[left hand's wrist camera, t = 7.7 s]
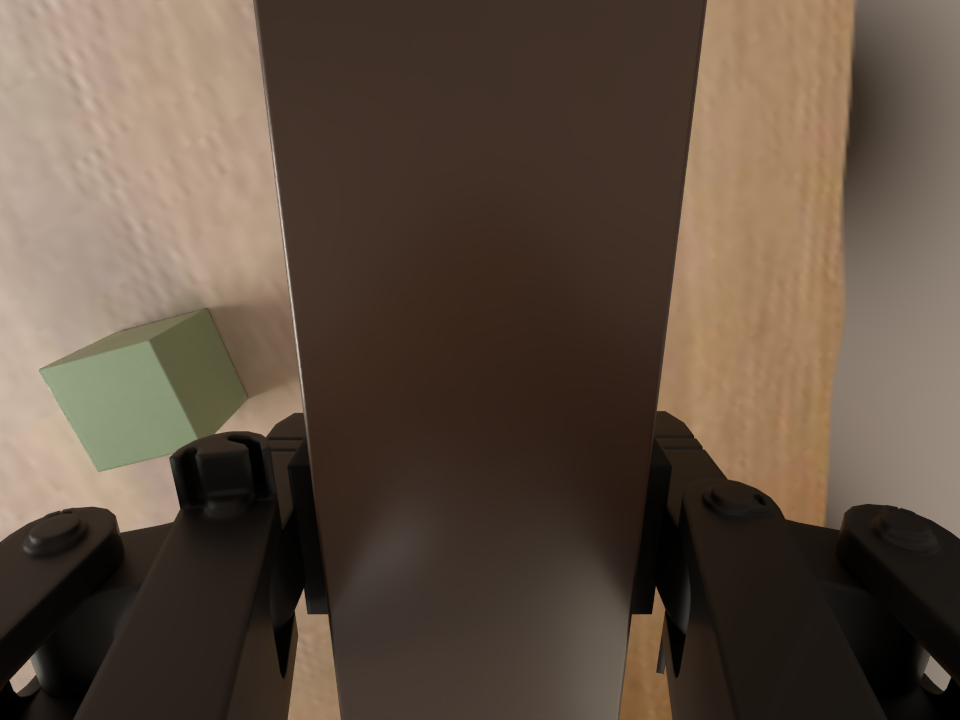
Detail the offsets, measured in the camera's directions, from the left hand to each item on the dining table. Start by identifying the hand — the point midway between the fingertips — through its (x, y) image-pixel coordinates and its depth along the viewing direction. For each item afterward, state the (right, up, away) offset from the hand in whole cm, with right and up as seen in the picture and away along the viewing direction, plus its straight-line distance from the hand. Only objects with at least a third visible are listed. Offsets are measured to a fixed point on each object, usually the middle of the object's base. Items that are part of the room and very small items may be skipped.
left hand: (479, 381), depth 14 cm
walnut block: (0, +8, -3) cm, 9 cm away
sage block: (-15, 0, +13) cm, 20 cm away
